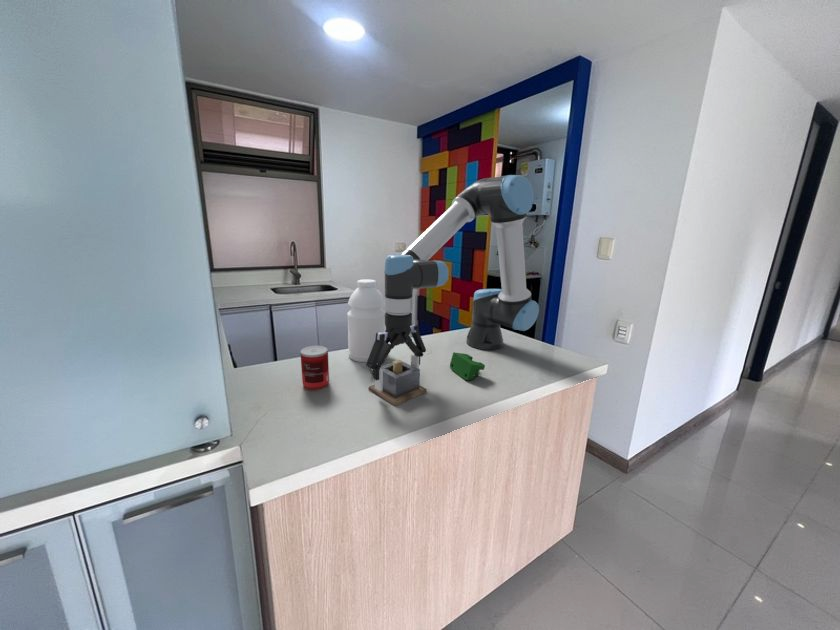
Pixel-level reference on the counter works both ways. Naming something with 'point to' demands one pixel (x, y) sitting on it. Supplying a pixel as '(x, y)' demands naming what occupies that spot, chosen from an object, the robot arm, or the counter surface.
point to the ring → (400, 380)
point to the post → (395, 401)
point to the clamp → (465, 366)
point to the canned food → (315, 367)
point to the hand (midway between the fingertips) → (397, 382)
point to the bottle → (364, 319)
